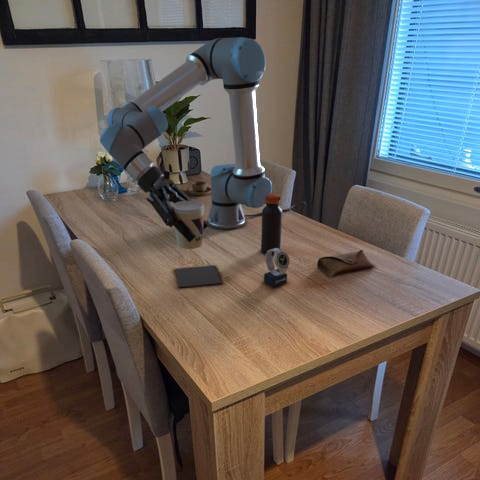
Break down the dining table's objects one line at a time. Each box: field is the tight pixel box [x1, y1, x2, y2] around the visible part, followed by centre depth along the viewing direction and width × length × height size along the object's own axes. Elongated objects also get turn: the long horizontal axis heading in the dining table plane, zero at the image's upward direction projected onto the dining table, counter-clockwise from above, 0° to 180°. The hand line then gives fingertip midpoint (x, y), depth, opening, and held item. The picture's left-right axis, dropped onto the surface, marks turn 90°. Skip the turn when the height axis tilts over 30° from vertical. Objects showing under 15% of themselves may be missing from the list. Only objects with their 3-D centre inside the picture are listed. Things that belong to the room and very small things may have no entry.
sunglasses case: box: [316, 249, 375, 277], centre depth 146 cm, size 18×7×7 cm, turn 115°
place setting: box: [167, 179, 211, 199], centre depth 219 cm, size 18×20×6 cm
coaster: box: [175, 264, 222, 289], centre depth 140 cm, size 13×13×1 cm
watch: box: [263, 248, 290, 289], centre depth 134 cm, size 6×8×11 cm
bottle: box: [260, 193, 283, 256], centre depth 153 cm, size 7×7×20 cm
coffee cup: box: [171, 200, 205, 250], centre depth 131 cm, size 9×9×12 cm
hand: (199, 233), depth 131 cm, fingers closed on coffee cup, 9 cm apart
